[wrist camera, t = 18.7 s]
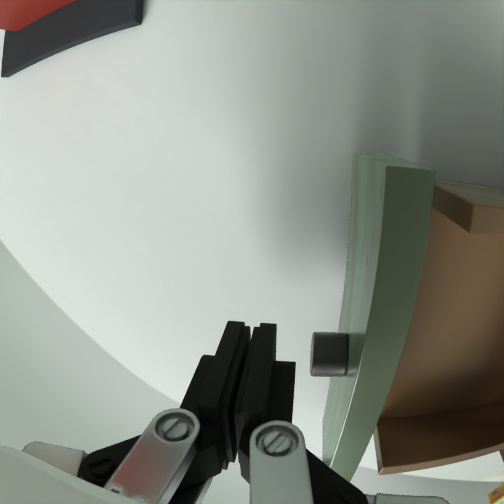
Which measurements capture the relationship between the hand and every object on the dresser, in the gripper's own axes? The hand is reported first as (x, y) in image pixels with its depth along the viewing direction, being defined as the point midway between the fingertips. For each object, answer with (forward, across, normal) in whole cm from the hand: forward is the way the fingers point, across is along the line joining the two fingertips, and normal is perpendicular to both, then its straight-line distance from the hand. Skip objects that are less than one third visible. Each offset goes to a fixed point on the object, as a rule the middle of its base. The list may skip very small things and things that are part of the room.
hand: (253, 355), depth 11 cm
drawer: (+2, -9, 0) cm, 10 cm away
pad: (+3, +9, -16) cm, 19 cm away
